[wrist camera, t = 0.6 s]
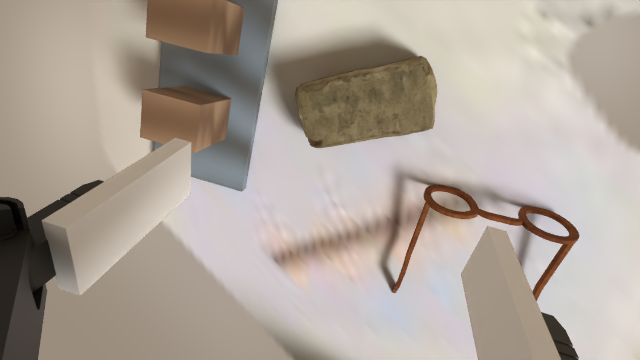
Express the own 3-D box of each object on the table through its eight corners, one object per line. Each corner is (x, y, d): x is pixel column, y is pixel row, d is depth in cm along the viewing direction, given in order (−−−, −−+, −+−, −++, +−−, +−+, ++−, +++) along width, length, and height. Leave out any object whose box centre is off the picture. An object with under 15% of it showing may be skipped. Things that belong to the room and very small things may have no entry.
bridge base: (245, 188, 37) (215, 214, 30) (158, 163, 38) (111, 183, 31) (286, -48, 30) (258, -80, 23) (177, -72, 31) (120, -110, 24)
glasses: (563, 212, 33) (593, 236, 28) (511, 322, 37) (530, 359, 32) (423, 179, 34) (429, 197, 29) (388, 289, 38) (389, 320, 34)
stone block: (302, 83, 33) (289, 85, 28) (428, 53, 30) (436, 51, 26) (316, 142, 34) (305, 154, 30) (436, 119, 32) (446, 128, 27)
